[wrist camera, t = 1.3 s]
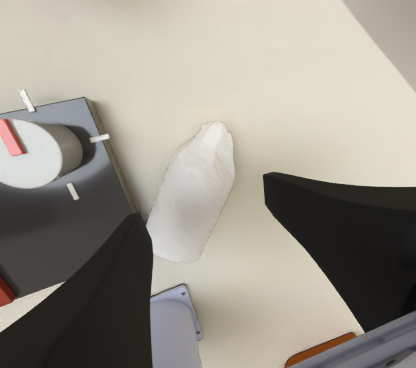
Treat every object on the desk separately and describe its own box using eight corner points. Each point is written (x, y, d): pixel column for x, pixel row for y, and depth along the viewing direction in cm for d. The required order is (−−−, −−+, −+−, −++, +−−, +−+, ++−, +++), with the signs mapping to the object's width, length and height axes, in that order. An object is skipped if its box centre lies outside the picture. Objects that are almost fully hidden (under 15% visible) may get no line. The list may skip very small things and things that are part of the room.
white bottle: (237, 136, 20) (268, 138, 14) (195, 237, 21) (208, 270, 16) (184, 111, 18) (197, 103, 12) (142, 224, 19) (138, 258, 14)
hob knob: (92, 167, 15) (73, 179, 11) (36, 182, 14) (-3, 199, 11) (68, 115, 14) (39, 110, 10) (6, 129, 13) (-50, 128, 9)
